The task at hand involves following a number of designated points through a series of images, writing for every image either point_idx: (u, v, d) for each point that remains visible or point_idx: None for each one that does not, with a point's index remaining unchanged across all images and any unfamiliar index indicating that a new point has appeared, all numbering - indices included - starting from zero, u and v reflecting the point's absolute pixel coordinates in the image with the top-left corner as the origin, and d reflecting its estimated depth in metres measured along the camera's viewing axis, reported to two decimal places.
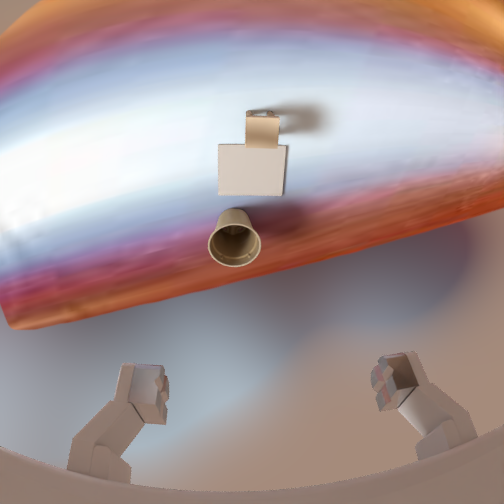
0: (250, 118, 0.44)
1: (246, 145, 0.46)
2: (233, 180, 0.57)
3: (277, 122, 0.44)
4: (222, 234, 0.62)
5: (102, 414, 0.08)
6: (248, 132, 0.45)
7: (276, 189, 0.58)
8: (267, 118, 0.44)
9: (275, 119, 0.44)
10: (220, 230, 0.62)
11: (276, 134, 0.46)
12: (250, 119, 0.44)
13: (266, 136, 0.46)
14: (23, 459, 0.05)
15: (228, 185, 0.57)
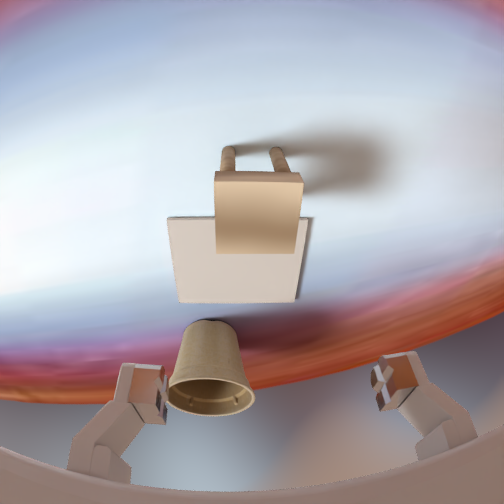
0: (225, 184, 0.17)
1: (218, 248, 0.20)
2: (203, 281, 0.30)
3: (297, 193, 0.18)
4: None
5: (102, 414, 0.08)
6: (220, 220, 0.18)
7: (285, 293, 0.32)
8: (271, 183, 0.17)
9: (292, 186, 0.17)
10: None
11: (293, 222, 0.19)
12: (225, 187, 0.17)
13: (267, 228, 0.19)
14: (23, 459, 0.05)
15: (195, 288, 0.31)
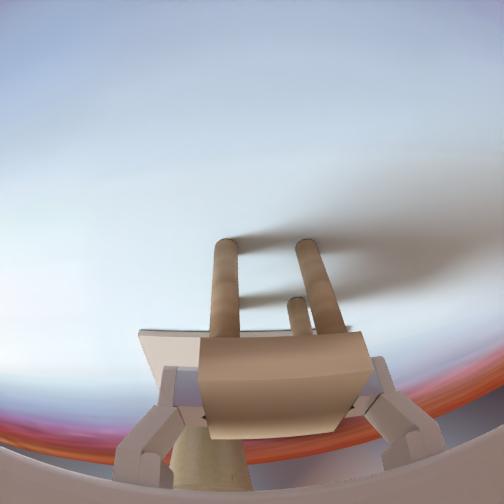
0: (221, 383, 0.08)
1: (214, 436, 0.10)
2: None
3: (359, 383, 0.08)
4: None
5: (147, 420, 0.08)
6: (216, 416, 0.09)
7: None
8: (313, 376, 0.08)
9: (353, 377, 0.08)
10: None
11: (341, 409, 0.10)
12: (222, 387, 0.08)
13: (296, 418, 0.10)
14: (23, 459, 0.05)
15: None
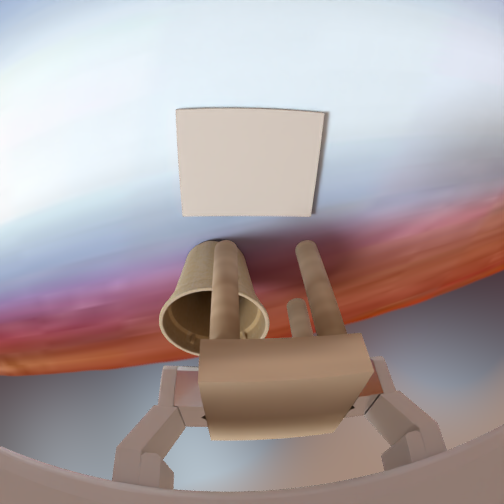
0: (221, 385, 0.08)
1: (214, 437, 0.10)
2: (211, 186, 0.27)
3: (358, 385, 0.08)
4: None
5: (147, 420, 0.08)
6: (216, 417, 0.09)
7: (301, 204, 0.28)
8: (313, 378, 0.08)
9: (353, 378, 0.08)
10: None
11: (341, 410, 0.10)
12: (222, 388, 0.08)
13: (296, 420, 0.10)
14: (23, 459, 0.05)
15: (201, 196, 0.27)
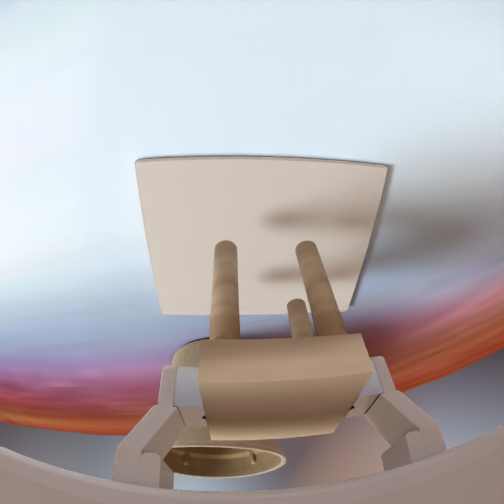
0: (221, 385, 0.08)
1: (214, 437, 0.10)
2: (201, 278, 0.17)
3: (358, 385, 0.08)
4: None
5: (147, 420, 0.08)
6: (216, 417, 0.09)
7: (336, 297, 0.19)
8: (313, 378, 0.08)
9: (353, 378, 0.08)
10: None
11: (341, 410, 0.10)
12: (222, 389, 0.08)
13: (296, 420, 0.10)
14: (23, 459, 0.05)
15: (187, 291, 0.18)
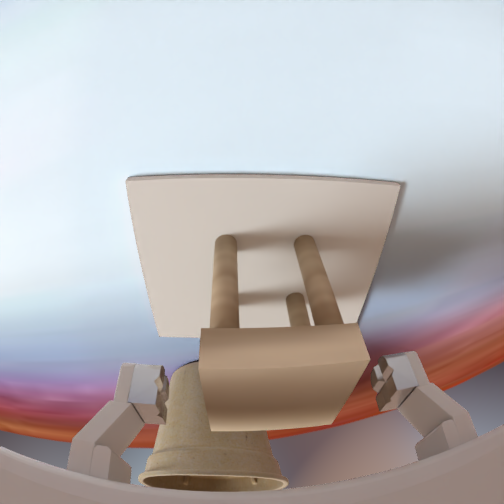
0: (221, 372, 0.08)
1: (214, 428, 0.11)
2: (200, 301, 0.16)
3: (355, 373, 0.09)
4: None
5: (102, 414, 0.08)
6: (216, 406, 0.10)
7: None
8: (311, 365, 0.08)
9: (350, 366, 0.08)
10: None
11: (338, 400, 0.10)
12: (222, 376, 0.08)
13: (294, 409, 0.10)
14: (23, 459, 0.05)
15: (185, 314, 0.17)
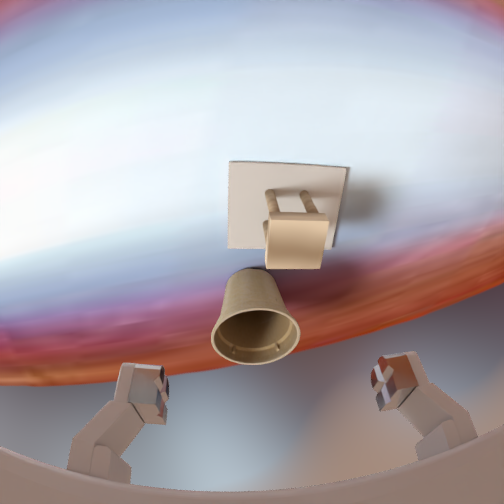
0: (278, 222, 0.26)
1: (268, 265, 0.28)
2: (253, 224, 0.34)
3: (325, 228, 0.26)
4: None
5: (102, 414, 0.08)
6: (272, 245, 0.27)
7: None
8: (308, 221, 0.26)
9: (322, 223, 0.26)
10: None
11: (320, 247, 0.27)
12: (278, 224, 0.26)
13: (303, 251, 0.27)
14: (23, 459, 0.05)
15: (244, 232, 0.34)
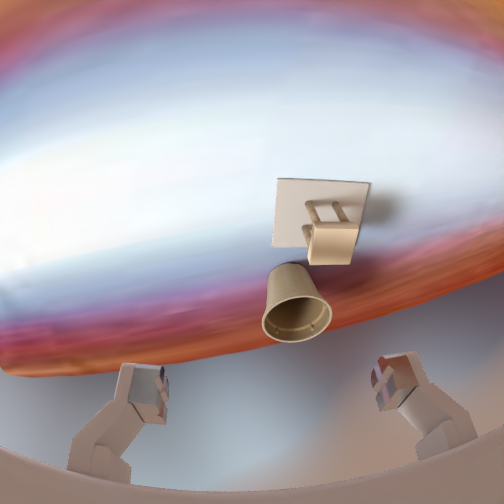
0: (321, 229, 0.33)
1: (311, 262, 0.36)
2: (294, 228, 0.41)
3: (355, 234, 0.34)
4: None
5: (102, 414, 0.08)
6: (316, 247, 0.35)
7: None
8: (343, 229, 0.33)
9: (353, 230, 0.33)
10: None
11: (351, 248, 0.35)
12: (321, 231, 0.33)
13: (338, 251, 0.35)
14: (23, 459, 0.05)
15: (287, 234, 0.42)
